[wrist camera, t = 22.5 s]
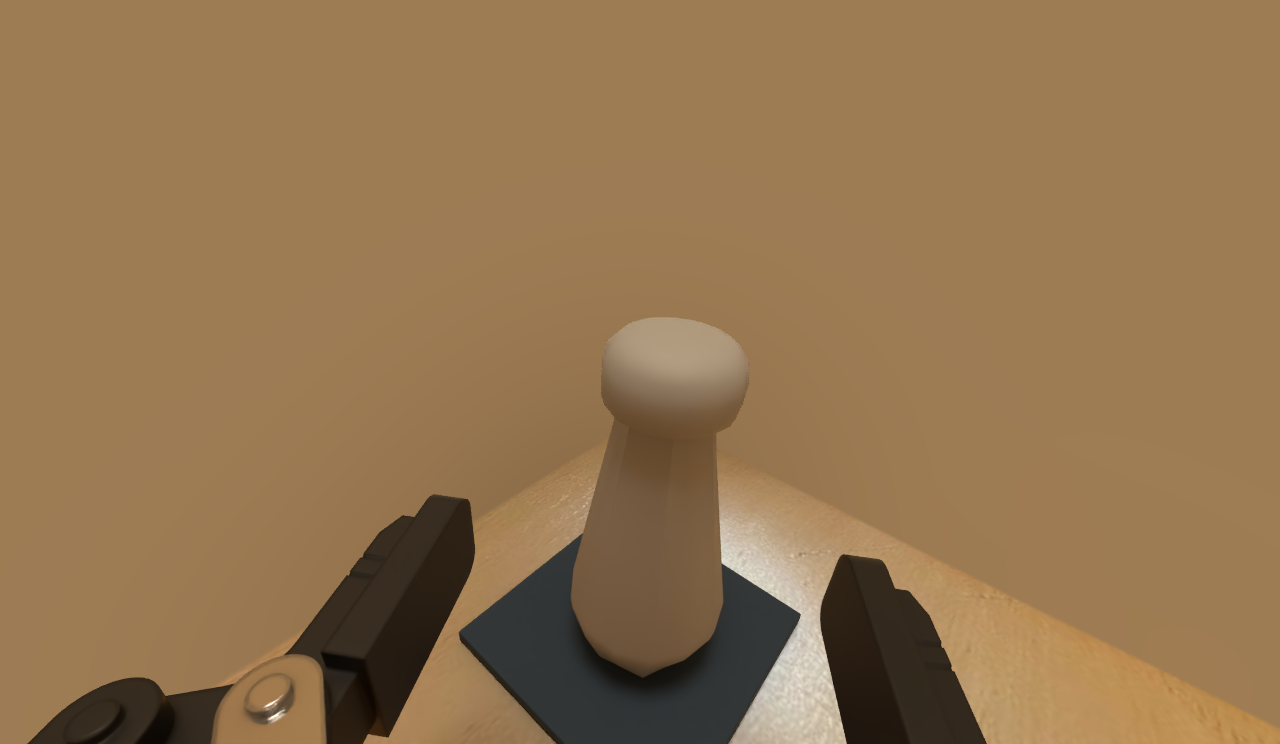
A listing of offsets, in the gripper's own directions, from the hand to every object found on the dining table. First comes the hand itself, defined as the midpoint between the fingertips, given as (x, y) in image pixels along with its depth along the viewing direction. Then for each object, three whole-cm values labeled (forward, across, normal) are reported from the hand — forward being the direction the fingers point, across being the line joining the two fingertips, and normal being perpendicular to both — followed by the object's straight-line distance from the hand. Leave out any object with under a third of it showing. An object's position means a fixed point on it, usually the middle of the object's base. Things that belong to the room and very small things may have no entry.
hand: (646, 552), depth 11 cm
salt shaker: (+5, 0, +10) cm, 12 cm away
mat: (+5, 0, +11) cm, 12 cm away
